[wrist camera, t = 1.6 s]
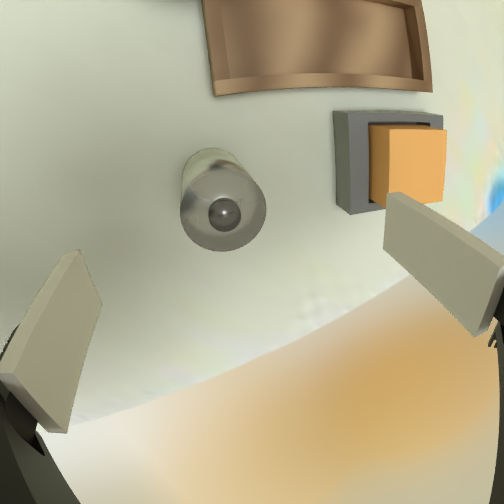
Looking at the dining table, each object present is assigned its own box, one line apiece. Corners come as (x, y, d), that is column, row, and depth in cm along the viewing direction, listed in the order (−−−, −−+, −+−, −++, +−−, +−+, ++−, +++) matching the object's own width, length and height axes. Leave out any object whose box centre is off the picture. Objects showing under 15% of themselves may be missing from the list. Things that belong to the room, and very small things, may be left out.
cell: (188, 209, 23) (190, 264, 16) (178, 154, 21) (171, 182, 14) (244, 198, 24) (272, 247, 16) (237, 143, 22) (264, 165, 14)
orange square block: (366, 196, 24) (387, 210, 21) (365, 124, 21) (389, 129, 18) (419, 189, 24) (442, 200, 22) (421, 124, 22) (446, 130, 19)
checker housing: (336, 204, 25) (350, 214, 23) (332, 111, 22) (347, 112, 19) (422, 191, 27) (438, 200, 24) (425, 112, 23) (443, 115, 21)
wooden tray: (214, 96, 20) (216, 95, 18) (199, -12, 15) (201, -23, 13) (416, 91, 22) (432, 92, 20) (406, 3, 17) (420, -1, 15)
